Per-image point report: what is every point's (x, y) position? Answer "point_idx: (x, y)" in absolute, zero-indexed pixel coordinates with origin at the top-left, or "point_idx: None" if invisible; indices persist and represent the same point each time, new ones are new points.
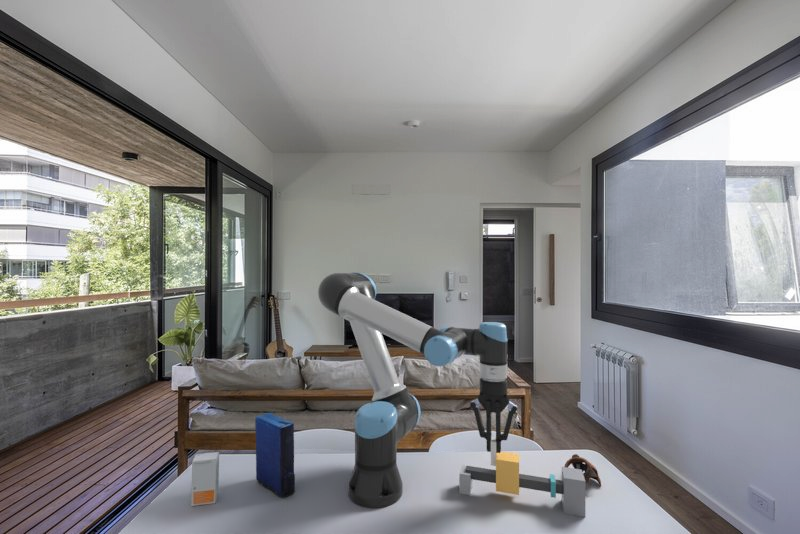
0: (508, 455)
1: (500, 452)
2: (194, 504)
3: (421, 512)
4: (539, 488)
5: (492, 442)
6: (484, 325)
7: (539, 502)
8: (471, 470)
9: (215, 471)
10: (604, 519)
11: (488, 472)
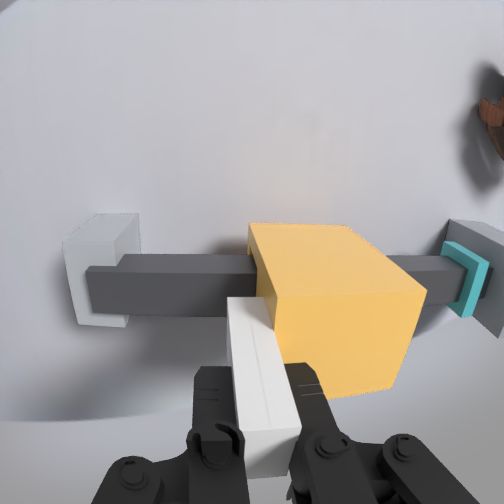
0: (355, 336)
1: (304, 315)
2: None
3: (55, 383)
4: None
5: (253, 473)
6: None
7: (389, 251)
8: (121, 313)
9: None
10: None
11: (210, 308)
